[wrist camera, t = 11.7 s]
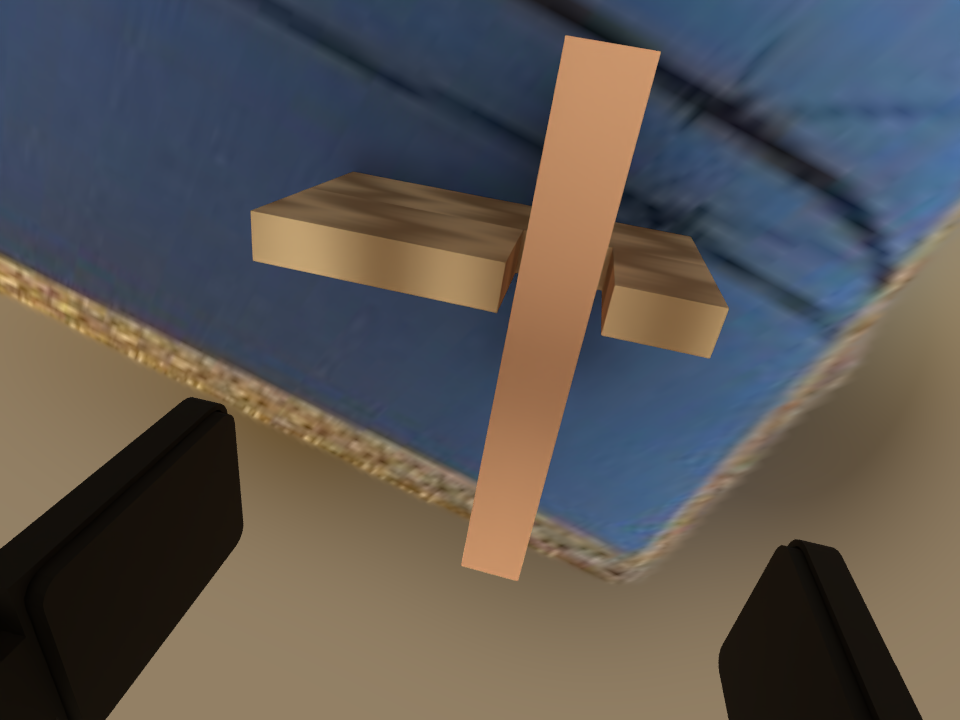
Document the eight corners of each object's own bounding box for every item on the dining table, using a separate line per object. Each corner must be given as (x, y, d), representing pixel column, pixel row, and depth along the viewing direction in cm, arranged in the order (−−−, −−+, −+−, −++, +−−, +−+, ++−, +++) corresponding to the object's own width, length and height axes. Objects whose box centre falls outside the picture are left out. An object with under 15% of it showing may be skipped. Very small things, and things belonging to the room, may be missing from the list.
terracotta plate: (521, 360, 33) (461, 565, 19) (586, 57, 26) (565, 35, 12) (554, 367, 33) (517, 581, 19) (630, 64, 26) (661, 51, 12)
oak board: (351, 208, 31) (253, 260, 23) (352, 171, 30) (250, 210, 22) (678, 274, 29) (709, 358, 21) (691, 236, 28) (729, 308, 20)
